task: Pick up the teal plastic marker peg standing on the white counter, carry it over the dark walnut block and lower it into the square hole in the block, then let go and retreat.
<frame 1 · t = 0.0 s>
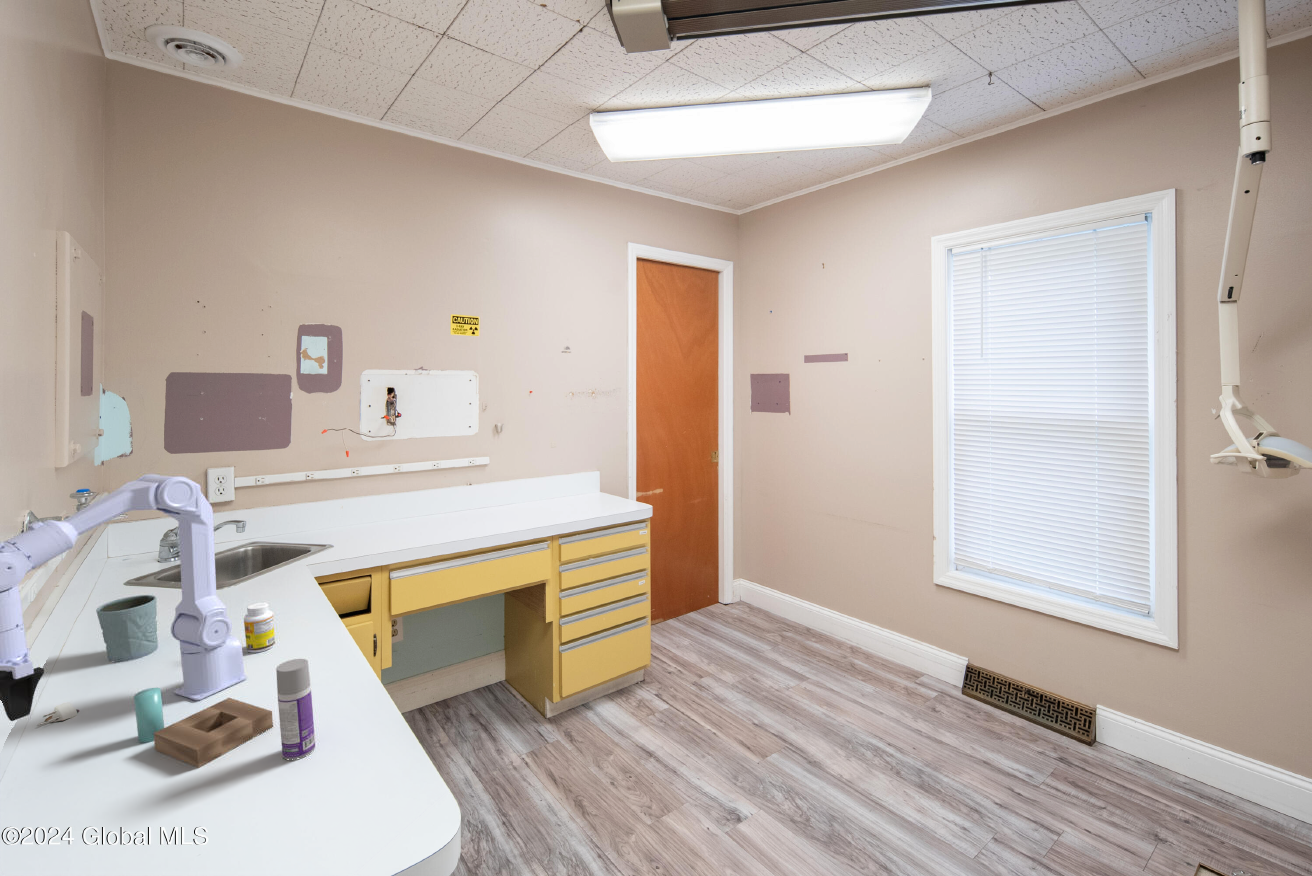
hand: (8, 712, 94), 10 cm above the counter, tool pointing down, fingers open, 7 cm apart
peg: (151, 736, 104), on the counter
supplement bottle: (261, 649, 138), on the counter
green plant pot: (132, 654, 136), on the counter
socket block: (216, 738, 103), on the counter
container: (299, 752, 99), on the counter
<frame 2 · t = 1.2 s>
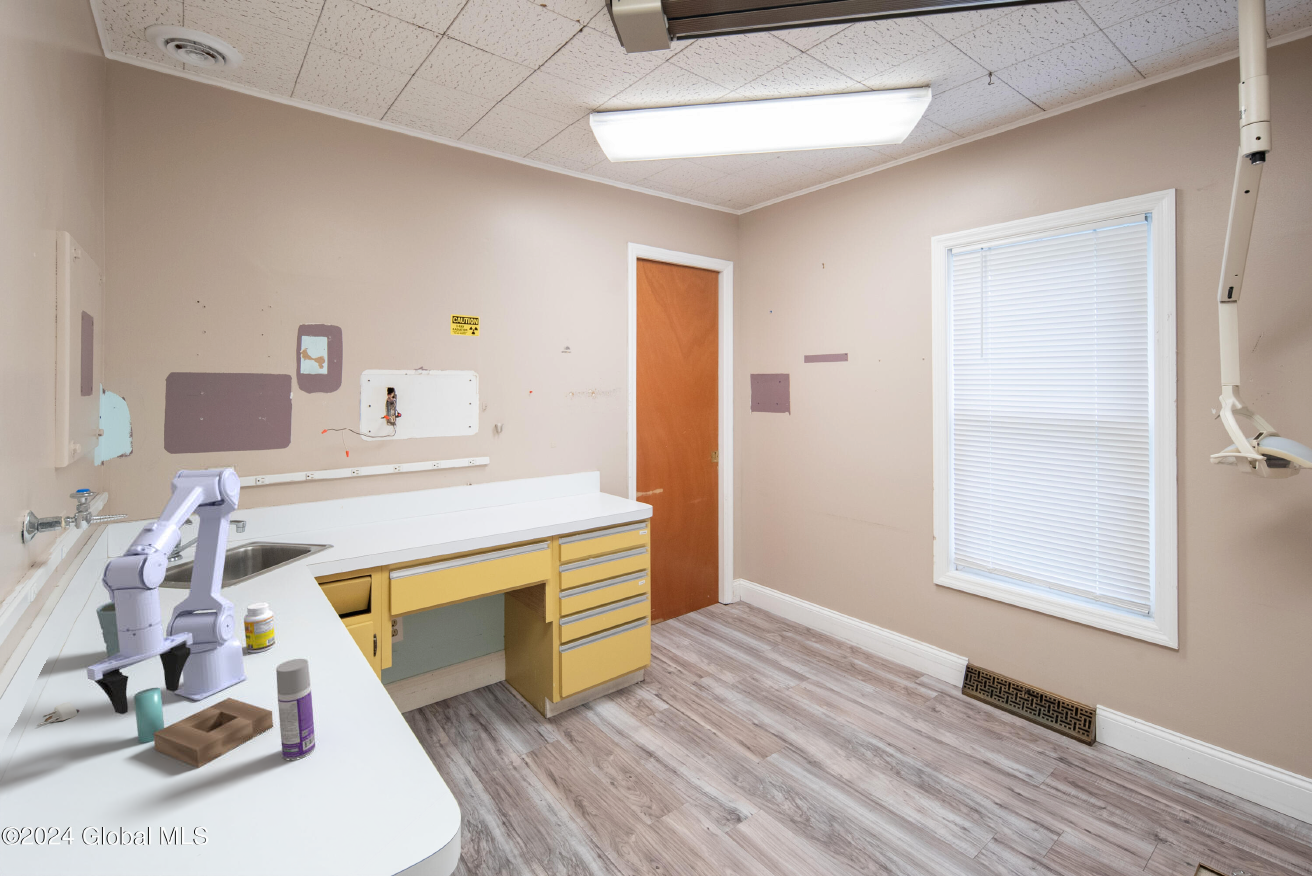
hand: (147, 700, 103), 7 cm above the counter, tool pointing down, fingers open, 7 cm apart
nothing on the counter moved.
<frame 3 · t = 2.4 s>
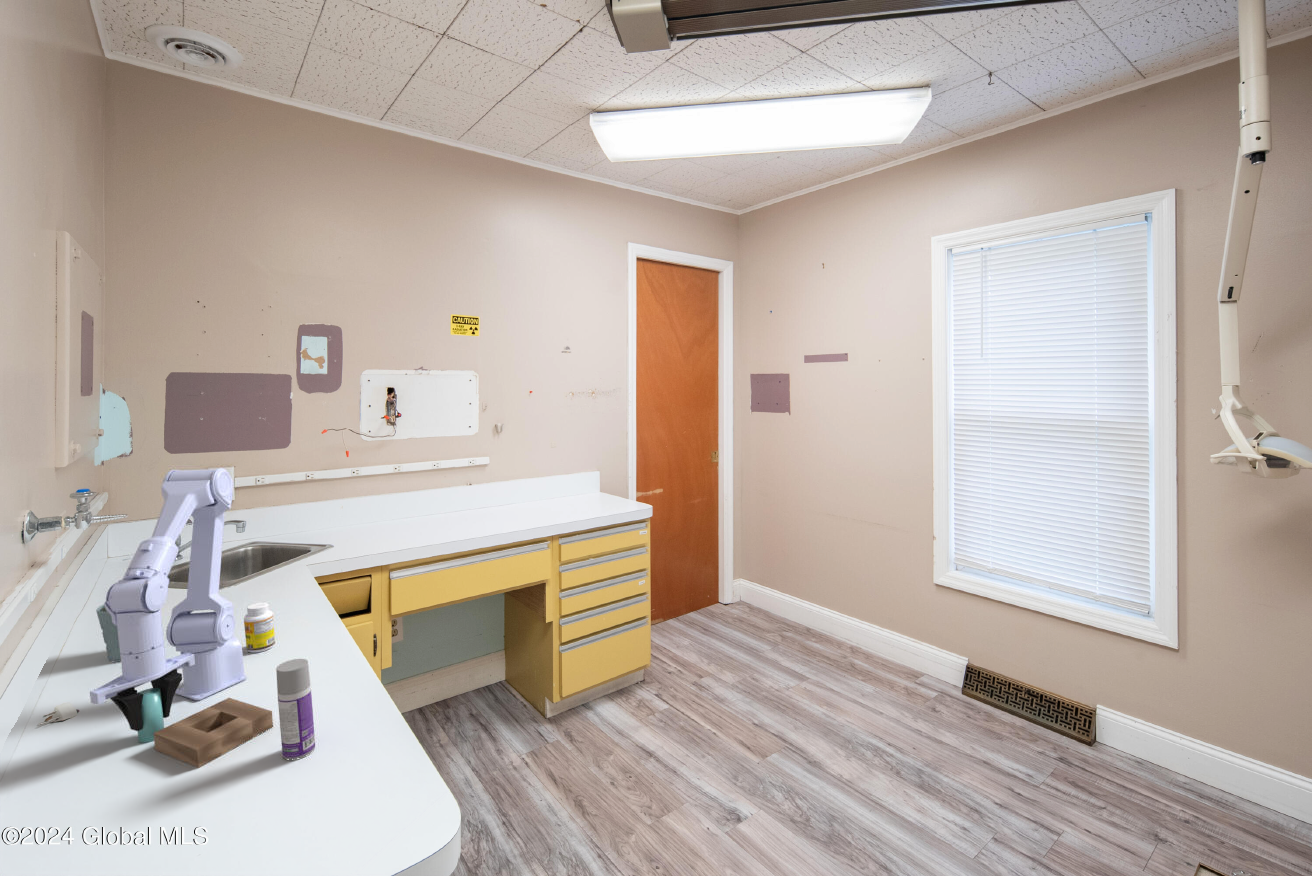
hand: (150, 722, 104), 3 cm above the counter, tool pointing down, fingers closed on peg, 3 cm apart
peg: (151, 736, 104), on the counter, touching gripper
everything else where it was.
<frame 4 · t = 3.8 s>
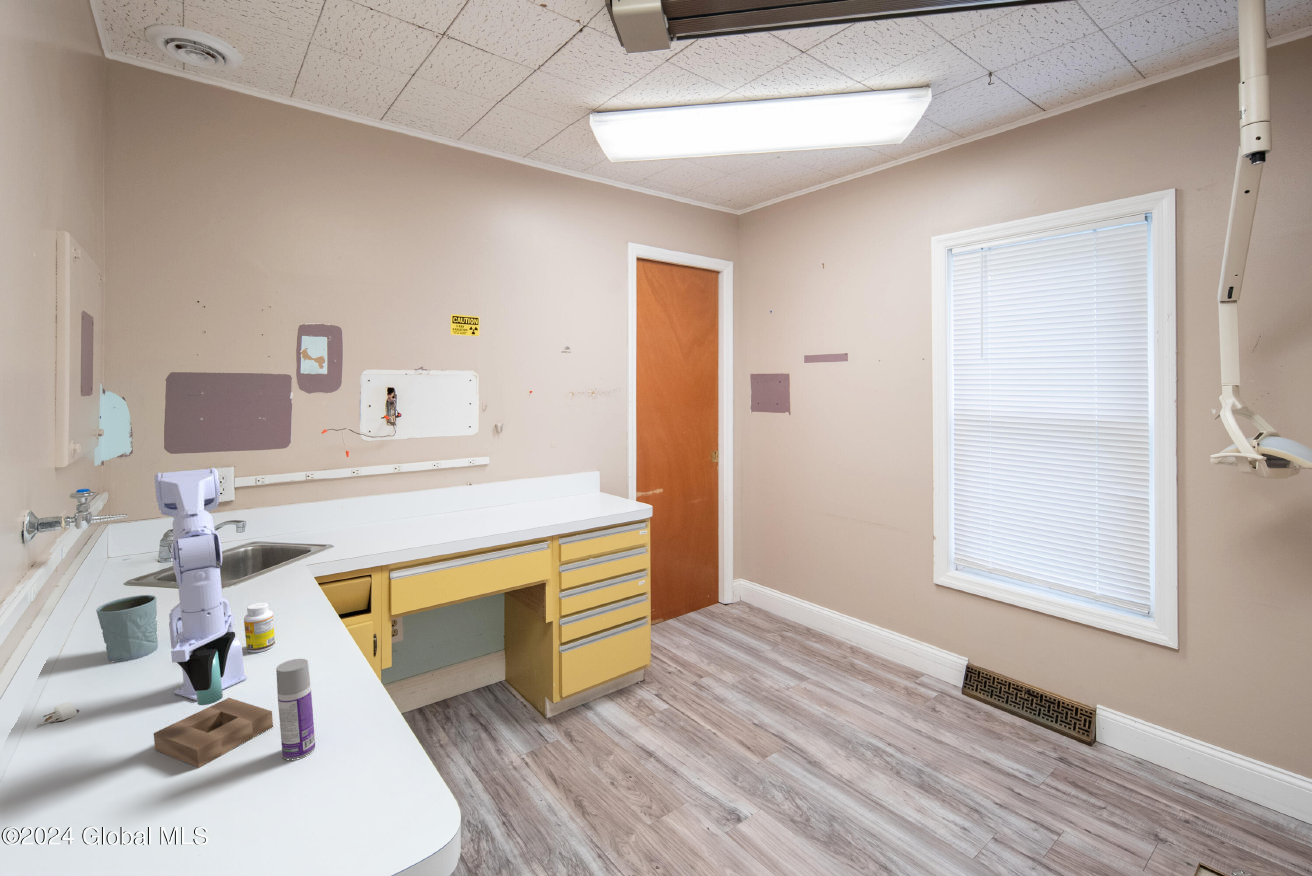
hand: (209, 683, 102), 10 cm above the counter, tool pointing down, fingers closed on peg, 3 cm apart
peg: (210, 699, 102), point 7 cm above the counter, touching gripper
everything else where it was.
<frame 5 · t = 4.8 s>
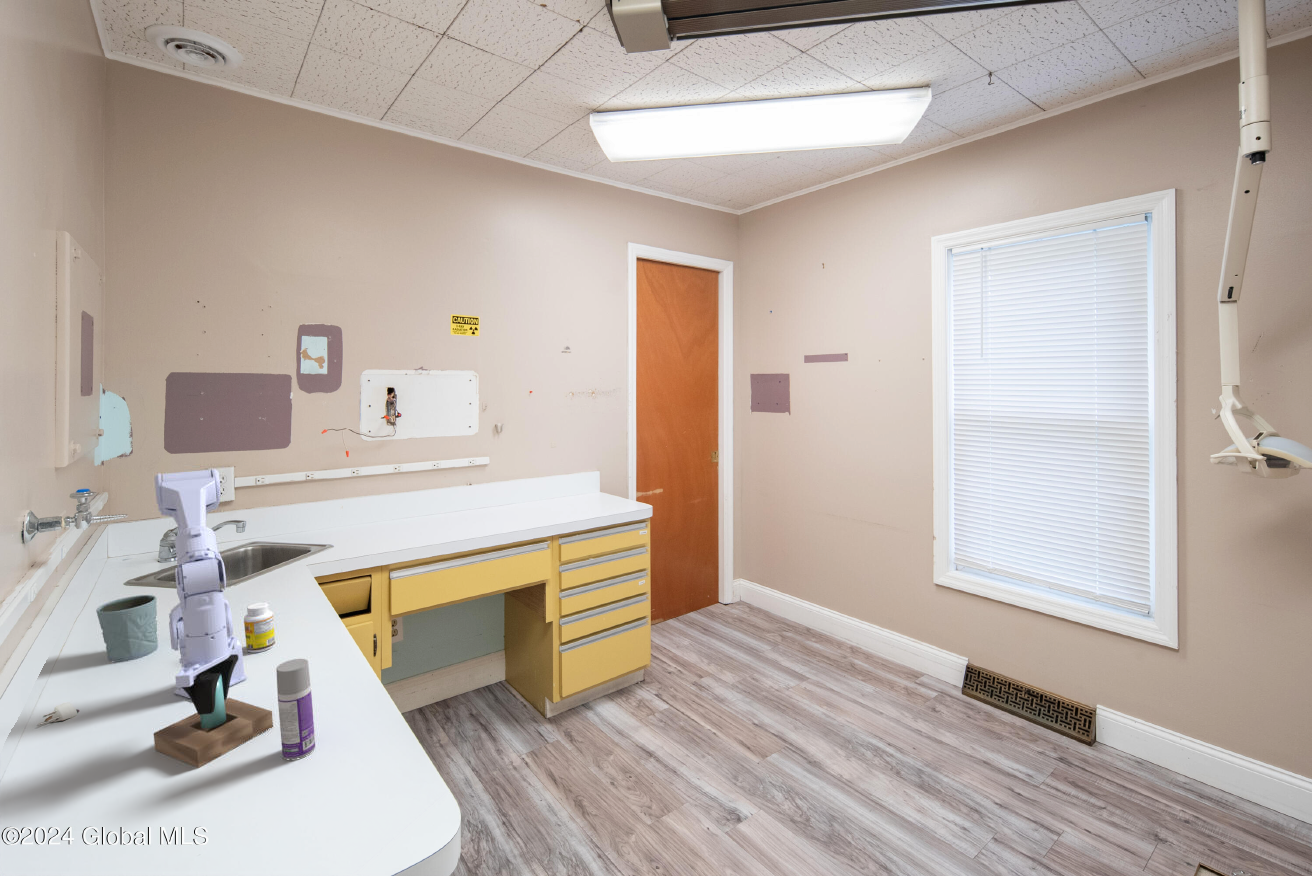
hand: (213, 706, 102), 6 cm above the counter, tool pointing down, fingers closed on peg, 3 cm apart
peg: (213, 722, 103), point 3 cm above the counter, touching gripper
everything else where it was.
when the fingers open (4 cm above the counter, at t = 5.7 s): peg stays where it is, resting in socket block.
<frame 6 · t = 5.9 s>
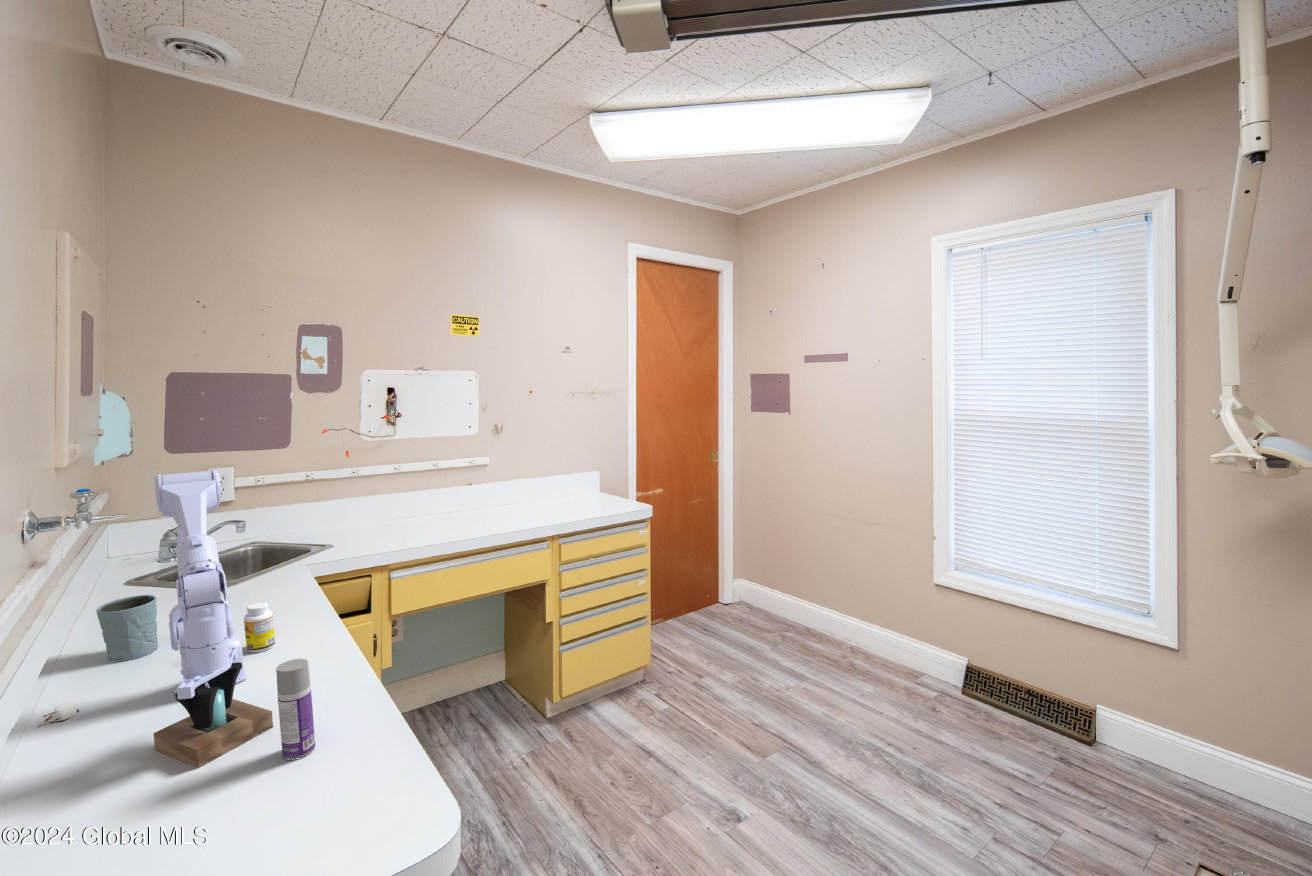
hand: (214, 717, 103), 4 cm above the counter, tool pointing down, fingers open, 5 cm apart
peg: (215, 738, 103), resting in socket block
everything else where it was.
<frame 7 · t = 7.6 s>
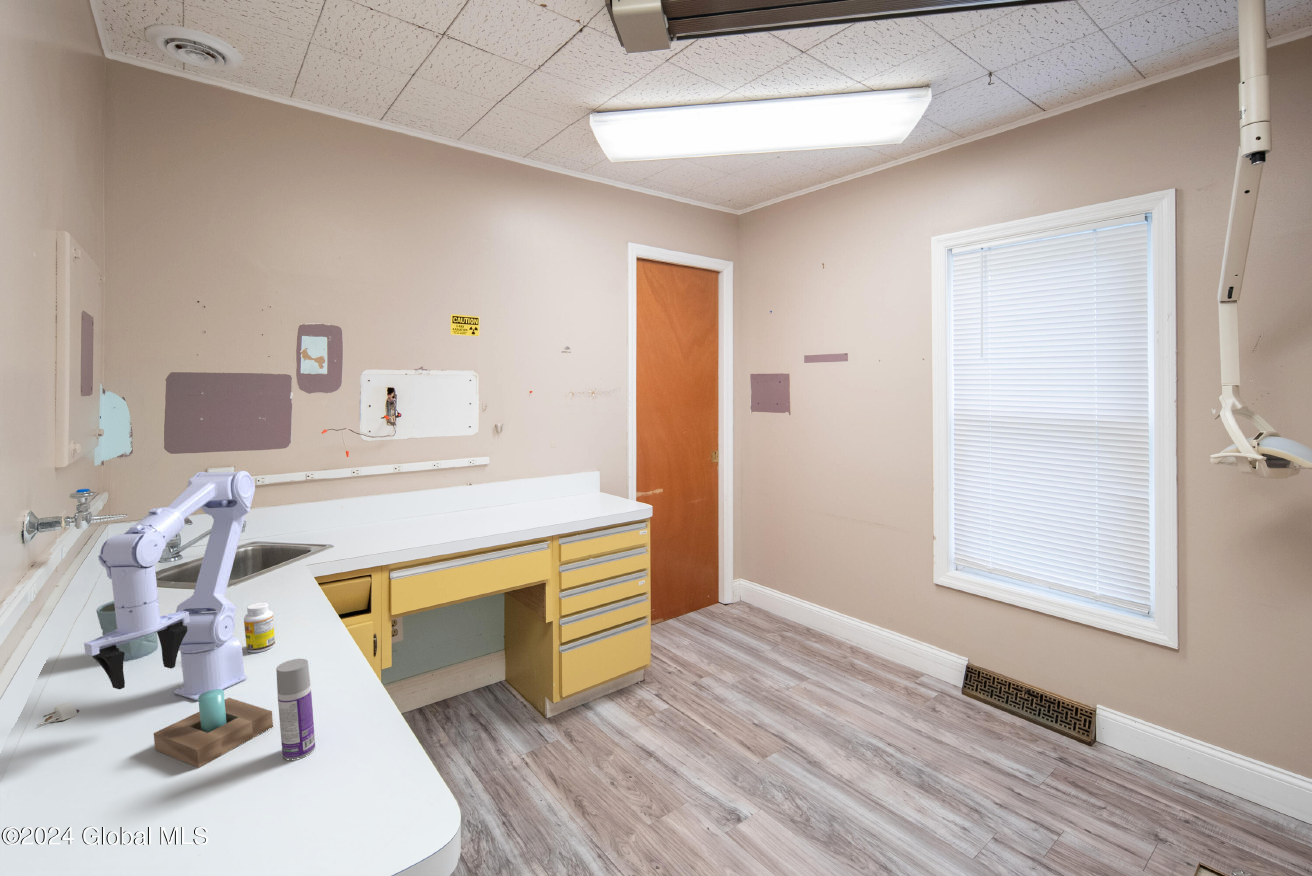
hand: (145, 676, 105), 10 cm above the counter, tool pointing down, fingers open, 7 cm apart
nothing on the counter moved.
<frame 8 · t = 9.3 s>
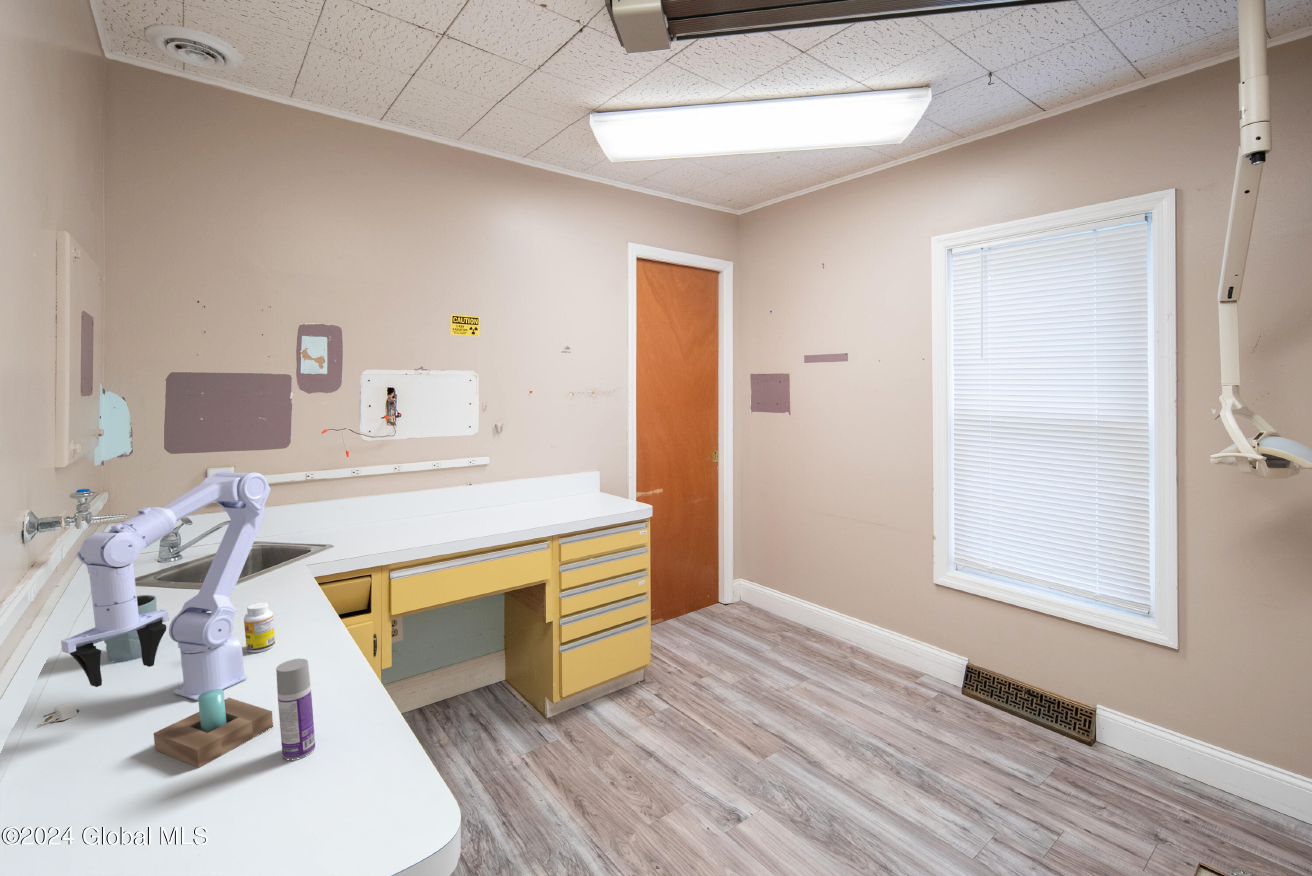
hand: (123, 674, 106), 10 cm above the counter, tool pointing down, fingers open, 7 cm apart
nothing on the counter moved.
at the end: peg 0.1 cm off-centre on the socket block, point 0.0 cm above the socket block's base; peg tilted 0°; the gripper is holding nothing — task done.
